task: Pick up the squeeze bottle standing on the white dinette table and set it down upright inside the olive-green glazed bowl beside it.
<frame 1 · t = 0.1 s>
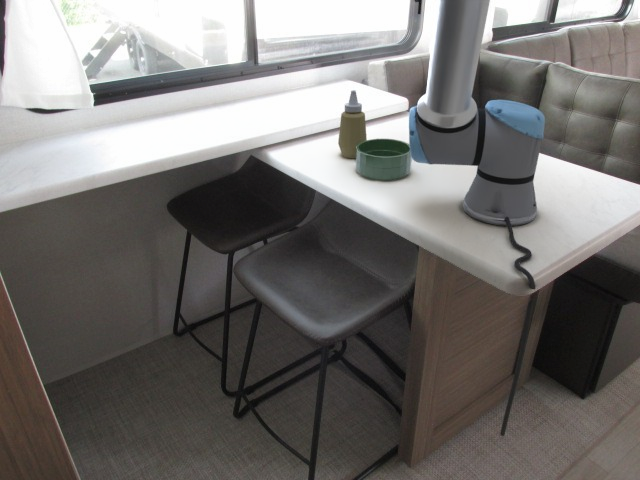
hand: (444, 10, 138), 36 cm above the table, tool tilted 35°, fingers open, 13 cm apart
squeeze bottle: (352, 155, 145), on the table
bowl: (383, 171, 134), on the table
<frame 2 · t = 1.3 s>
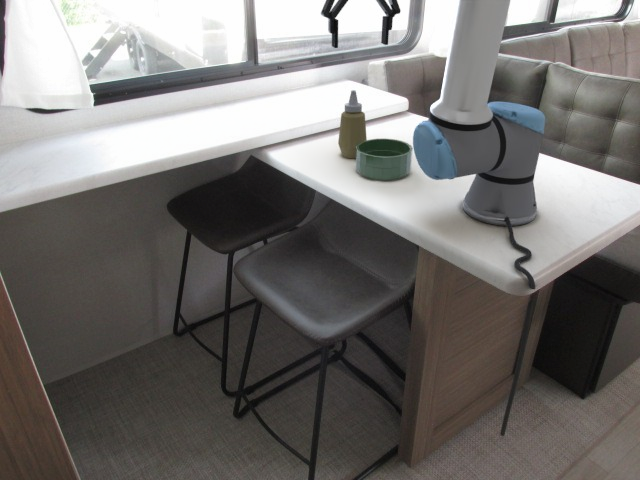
hand: (360, 45, 131), 29 cm above the table, tool pointing down, fingers open, 13 cm apart
nothing on the table moved.
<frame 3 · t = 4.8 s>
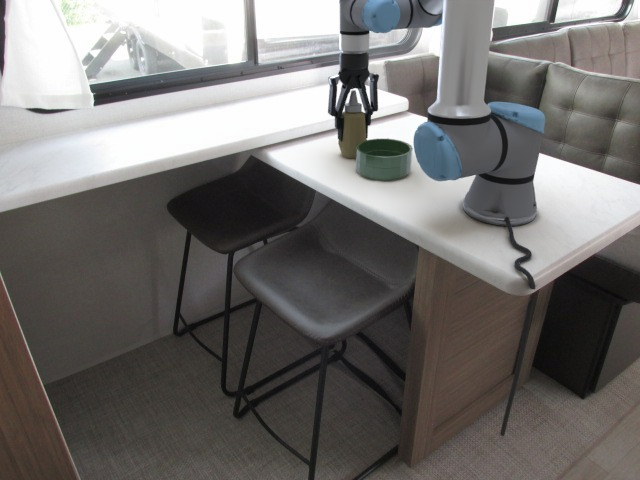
hand: (352, 138, 142), 5 cm above the table, tool pointing down, fingers closed on squeeze bottle, 6 cm apart
squeeze bottle: (352, 155, 145), on the table, touching gripper
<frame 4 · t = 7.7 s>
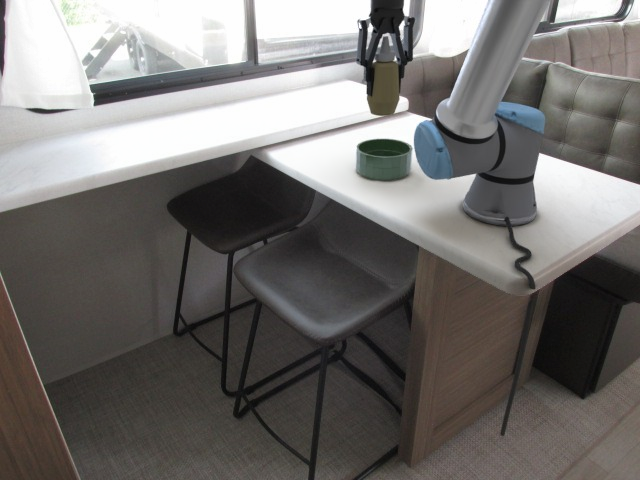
hand: (383, 93, 125), 20 cm above the table, tool pointing down, fingers closed on squeeze bottle, 6 cm apart
squeeze bottle: (382, 114, 128), point 15 cm above the table, touching gripper
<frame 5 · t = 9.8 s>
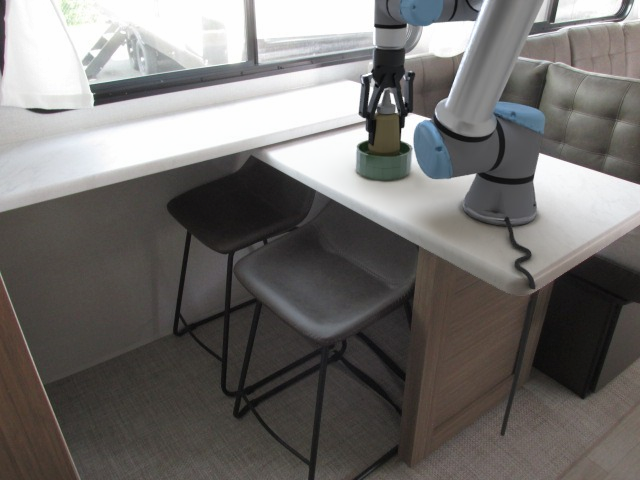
hand: (384, 142, 130), 8 cm above the table, tool pointing down, fingers closed on squeeze bottle, 6 cm apart
squeeze bottle: (383, 161, 133), point 3 cm above the table, touching gripper
when the fingers open (6 cm above the table, at t = 10.9 s): squeeze bottle stays where it is, resting on bowl.
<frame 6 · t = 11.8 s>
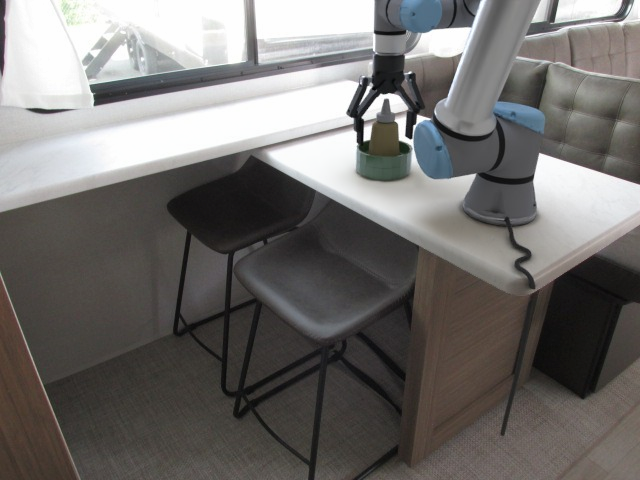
hand: (384, 140, 130), 8 cm above the table, tool pointing down, fingers open, 13 cm apart
squeeze bottle: (383, 169, 134), point 1 cm above the table, touching bowl
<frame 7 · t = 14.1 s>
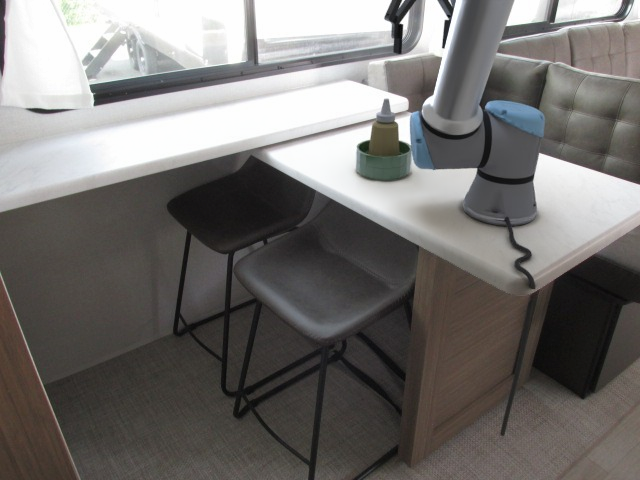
hand: (422, 51, 124), 29 cm above the table, tool pointing down, fingers open, 13 cm apart
nothing on the table moved.
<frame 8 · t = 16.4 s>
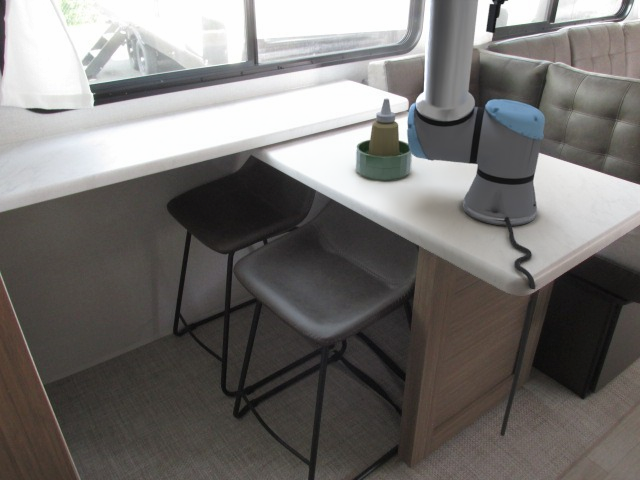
hand: (467, 34, 129), 32 cm above the table, tool pointing down, fingers open, 13 cm apart
nothing on the table moved.
at the end: squeeze bottle 0.1 cm off-centre in the bowl, point 0.6 cm above the bowl's base; squeeze bottle tilted 0°; the gripper is holding nothing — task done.
